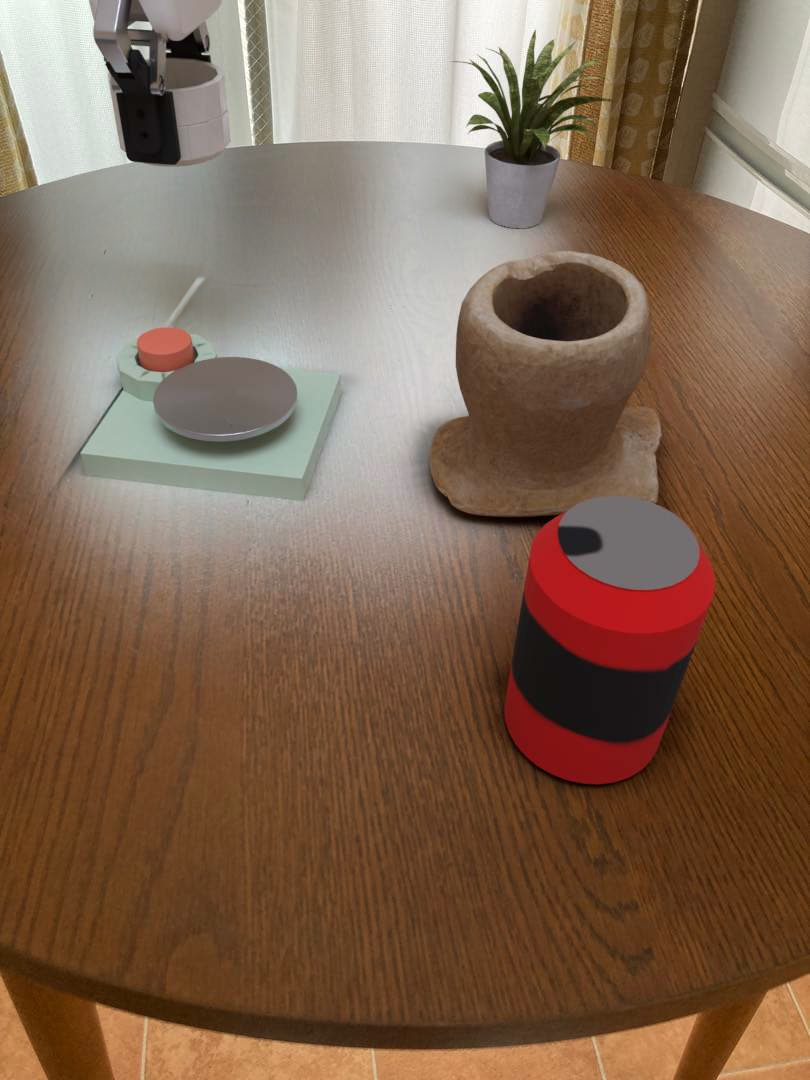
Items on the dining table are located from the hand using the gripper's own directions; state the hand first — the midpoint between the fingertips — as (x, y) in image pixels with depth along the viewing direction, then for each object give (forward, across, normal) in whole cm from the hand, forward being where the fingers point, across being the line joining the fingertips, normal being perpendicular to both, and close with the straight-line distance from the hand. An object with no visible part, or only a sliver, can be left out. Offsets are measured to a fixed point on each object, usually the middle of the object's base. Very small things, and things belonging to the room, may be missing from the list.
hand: (174, 137), depth 58 cm
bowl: (+1, 0, 0) cm, 1 cm away
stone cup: (+16, -11, -26) cm, 33 cm away
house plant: (+16, +30, -21) cm, 40 cm away
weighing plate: (+13, -10, -5) cm, 17 cm away
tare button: (+13, -5, +1) cm, 14 cm away
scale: (+16, -9, -4) cm, 19 cm away
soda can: (+16, -29, -28) cm, 44 cm away
